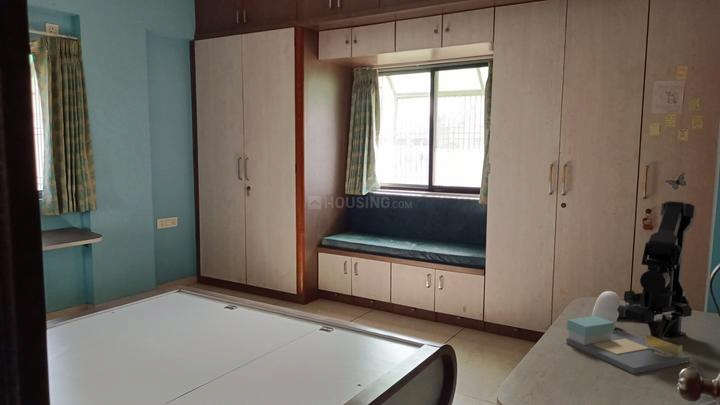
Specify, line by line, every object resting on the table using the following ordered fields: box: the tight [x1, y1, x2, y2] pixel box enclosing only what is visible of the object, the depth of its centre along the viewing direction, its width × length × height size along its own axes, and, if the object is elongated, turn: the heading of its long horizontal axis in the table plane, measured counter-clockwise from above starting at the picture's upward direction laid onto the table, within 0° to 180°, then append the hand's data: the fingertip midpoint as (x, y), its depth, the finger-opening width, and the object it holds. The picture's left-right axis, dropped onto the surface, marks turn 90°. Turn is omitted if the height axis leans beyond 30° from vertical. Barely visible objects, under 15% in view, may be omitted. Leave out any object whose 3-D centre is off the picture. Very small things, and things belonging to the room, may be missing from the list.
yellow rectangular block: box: [646, 333, 683, 357], centre depth 133 cm, size 2×9×4 cm, turn 22°
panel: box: [565, 329, 690, 375], centre depth 138 cm, size 20×22×4 cm
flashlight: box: [617, 303, 647, 320], centre depth 166 cm, size 15×5×5 cm, turn 78°
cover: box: [566, 315, 615, 337], centre depth 143 cm, size 10×7×3 cm, turn 112°
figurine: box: [591, 290, 621, 330], centre depth 157 cm, size 7×8×12 cm
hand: (656, 342), depth 137 cm, fingers closed, pressing on yellow rectangular block
